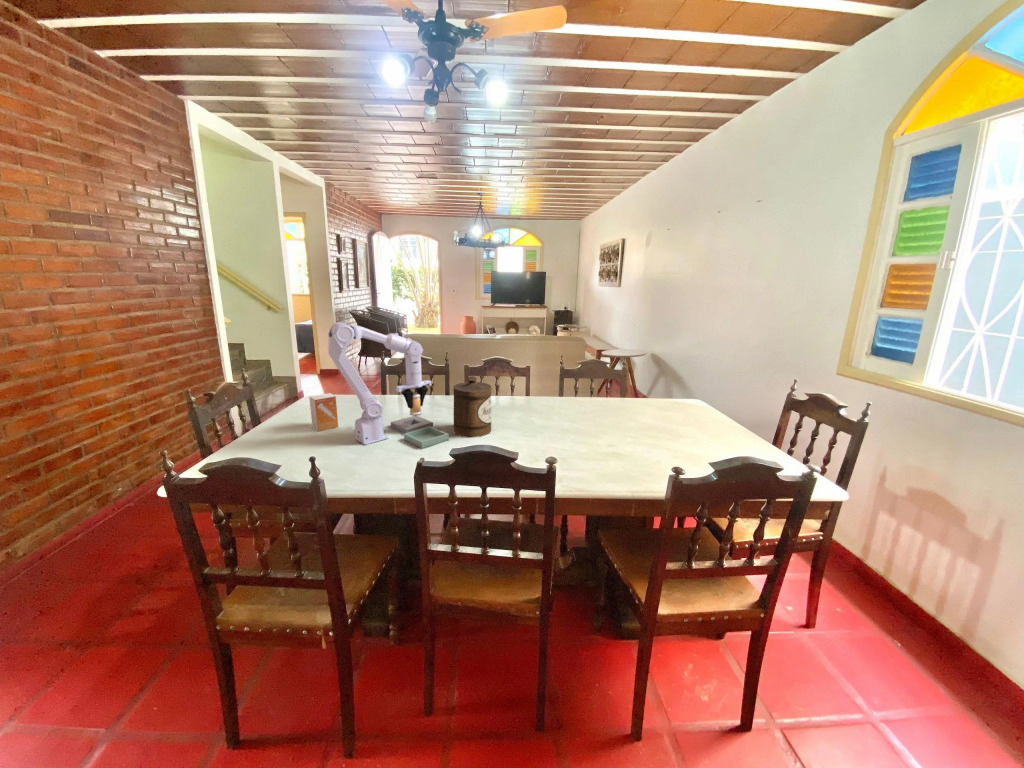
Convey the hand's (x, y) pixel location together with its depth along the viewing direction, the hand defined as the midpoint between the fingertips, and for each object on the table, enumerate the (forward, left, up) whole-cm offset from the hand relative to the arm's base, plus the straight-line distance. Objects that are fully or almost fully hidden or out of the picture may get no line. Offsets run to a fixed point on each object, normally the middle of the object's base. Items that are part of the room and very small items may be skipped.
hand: (415, 406), depth 159 cm
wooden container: (+16, -15, -10) cm, 24 cm away
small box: (-24, +28, -10) cm, 38 cm away
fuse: (0, 0, -3) cm, 3 cm away
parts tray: (-3, -11, -10) cm, 15 cm away
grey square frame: (+1, +5, -10) cm, 11 cm away
